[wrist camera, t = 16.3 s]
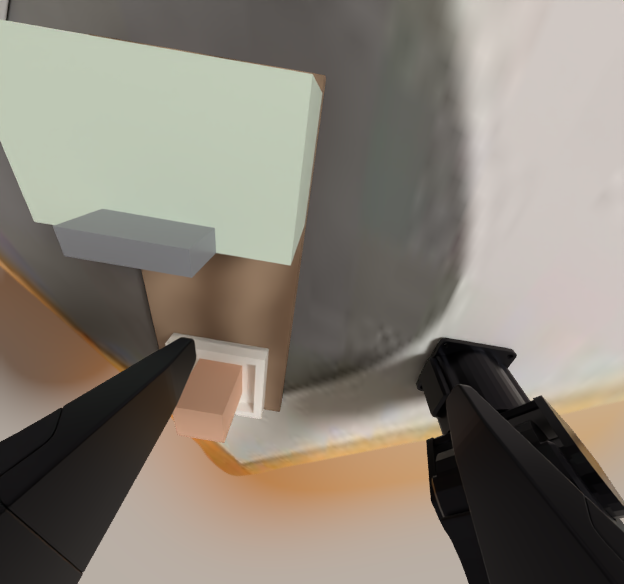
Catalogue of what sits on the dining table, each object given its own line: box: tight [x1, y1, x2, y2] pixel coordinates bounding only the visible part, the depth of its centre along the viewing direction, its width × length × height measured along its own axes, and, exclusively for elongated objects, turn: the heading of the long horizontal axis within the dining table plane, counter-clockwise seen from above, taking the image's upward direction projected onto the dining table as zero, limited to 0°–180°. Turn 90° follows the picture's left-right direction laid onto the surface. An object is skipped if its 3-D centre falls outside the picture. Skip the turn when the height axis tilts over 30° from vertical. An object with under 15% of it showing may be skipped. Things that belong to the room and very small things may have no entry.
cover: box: [0, 20, 322, 278], centre depth 12 cm, size 12×7×8 cm, turn 81°
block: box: [172, 359, 242, 443], centre depth 24 cm, size 4×4×5 cm
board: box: [89, 34, 326, 412], centre depth 21 cm, size 12×28×1 cm, turn 171°
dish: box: [165, 333, 269, 419], centre depth 26 cm, size 9×9×1 cm
